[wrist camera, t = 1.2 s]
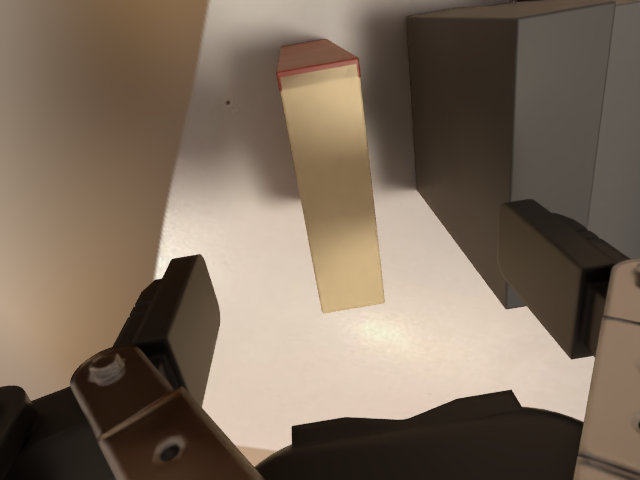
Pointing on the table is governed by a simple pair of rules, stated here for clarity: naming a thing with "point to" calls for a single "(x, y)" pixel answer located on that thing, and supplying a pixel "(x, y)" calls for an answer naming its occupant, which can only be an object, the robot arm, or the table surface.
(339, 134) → the cream book
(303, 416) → the table surface
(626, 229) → the grey books
